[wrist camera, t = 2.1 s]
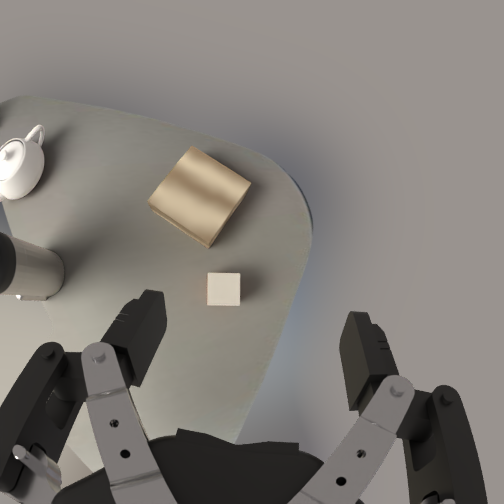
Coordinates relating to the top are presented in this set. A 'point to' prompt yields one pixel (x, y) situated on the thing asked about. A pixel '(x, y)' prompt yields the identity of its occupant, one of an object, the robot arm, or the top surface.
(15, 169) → the teapot
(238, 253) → the top surface
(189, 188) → the pine box
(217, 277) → the cube
